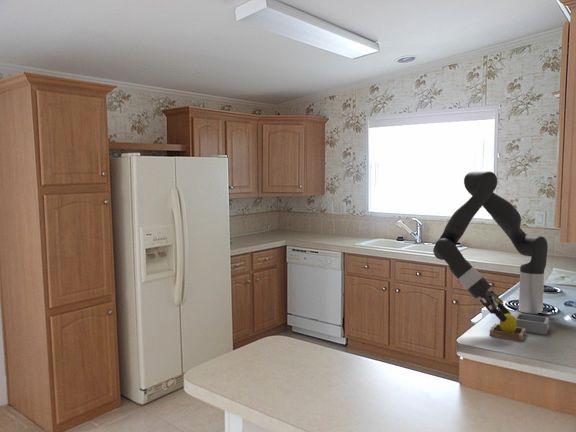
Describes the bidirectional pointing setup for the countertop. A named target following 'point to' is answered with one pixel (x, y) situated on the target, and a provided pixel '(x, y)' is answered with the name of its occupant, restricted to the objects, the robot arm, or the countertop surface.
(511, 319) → the lemon
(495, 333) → the cradle
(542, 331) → the holder
